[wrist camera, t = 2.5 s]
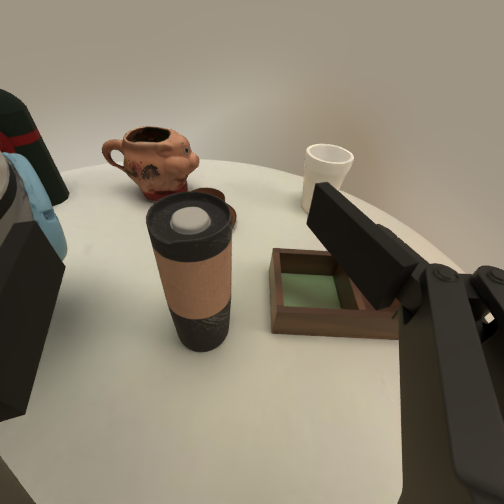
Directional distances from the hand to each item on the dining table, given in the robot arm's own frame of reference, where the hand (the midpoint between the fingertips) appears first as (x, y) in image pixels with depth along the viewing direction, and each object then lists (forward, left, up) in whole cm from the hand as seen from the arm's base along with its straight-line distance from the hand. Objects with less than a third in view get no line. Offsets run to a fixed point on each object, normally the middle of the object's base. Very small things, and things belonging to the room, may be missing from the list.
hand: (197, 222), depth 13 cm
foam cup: (-16, +42, -26) cm, 52 cm away
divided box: (+3, +23, -26) cm, 35 cm away
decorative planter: (-43, +17, -26) cm, 53 cm away
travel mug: (-8, +4, -26) cm, 27 cm away
